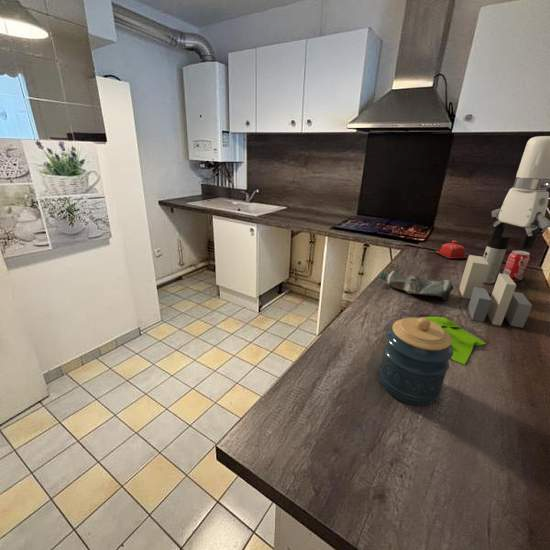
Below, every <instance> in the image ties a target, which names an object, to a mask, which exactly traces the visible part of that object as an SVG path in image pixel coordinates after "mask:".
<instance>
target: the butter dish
mask: <svg viewBox="0 0 550 550" xmlns="http://www.w3.org/2000/svg"><path fill="white" fill-rule="evenodd" d="M435 253H437V254H439V255H441V256H442V257H445V258H447V259H450V260H453V259H468V257H469V255H466V248H465V247H464V246H463V245H461V244H458V240H454V239H453V240H452V241H451V242H448V243H444V244H442V245H441V247H440V250H435Z"/></svg>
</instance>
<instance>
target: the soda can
mask: <svg viewBox="0 0 550 550" xmlns="http://www.w3.org/2000/svg"><path fill="white" fill-rule="evenodd" d="M530 255H531V253H530V252H528V251H525V250H519V249H514V250H512V252H511V253H509V255H508V257H507V260H506V262H505V265H504V268H503V271H502V274H508V275H509V276H510V278H511V279H512V280H513V282H519V281H522V280H523V278H524V276H525V274H526V271H527V269H528V266H529V263H530V260H531V256H530Z"/></svg>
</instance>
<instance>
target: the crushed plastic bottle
mask: <svg viewBox="0 0 550 550" xmlns="http://www.w3.org/2000/svg"><path fill="white" fill-rule="evenodd" d="M380 279H381V280H383V281H384V282H387V286H388V287H390V288H394V289H396V290H397V289H398V290H401V291H404V292H406V293H407V294H409V295H421V296H429V297H440V298H441V299H442V300H443V301H446V300H447V299H449V296H450V294H451V292H452V291H453V289H454V286H453V283H452V281H451V280H449V279H444V280H441V281H440V280H428V279H424V278H422V277H419V276H417V275H414V274H413V275H409V276H405V275H403V274H401V273H398V272H397V271H396V270H392V271H390V273H389V272H382V273H381V274H380Z"/></svg>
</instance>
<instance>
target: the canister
mask: <svg viewBox="0 0 550 550" xmlns="http://www.w3.org/2000/svg"><path fill="white" fill-rule="evenodd" d="M425 317H426V316H421V317H415V316H414V317H406V318H400V319H398V320H396V321H395V322H393V324H392V326H391V328H390V329H388V331H387V333H386V342H385V343H384V346H383V356H382V360H381V364H380V366H379V375H378V376H379V382H380V384H381V386H382V388H383V389H384V390H385V391H386V392H387V393H388V394H389V395H390V396H391V397H393V398H395V399H397V400H398V401H400V402H403V403H406V404H408V405H412V406H413V405H414V406H428V405H431V404H433V403H435V402H436V401H437V400H438V398H439V397H440V395H441V393H442V389H443V383H444V381H445V378H446V374H447V372H448V370H449V368H450V360H451V359H450V358H451V357H452V356H453V348H452V346H451V342H452V340H451V337H450V335H449V334H448V333H447V332H446V331H445V330H444V329H442V328H441V327H440V326H439V325H437V324H436V323H434V322H432V321H429V319H427V318H425Z"/></svg>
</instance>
